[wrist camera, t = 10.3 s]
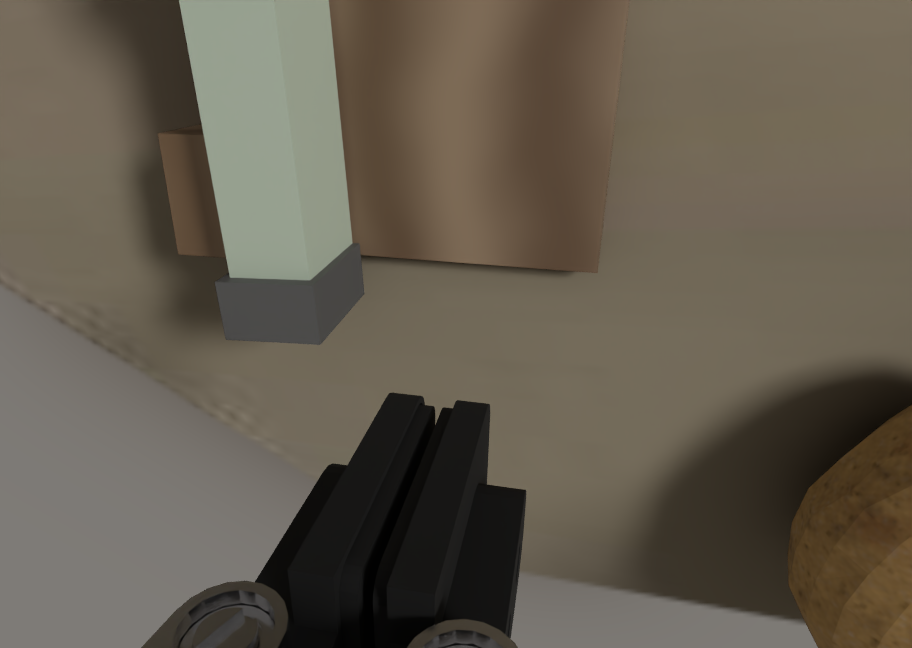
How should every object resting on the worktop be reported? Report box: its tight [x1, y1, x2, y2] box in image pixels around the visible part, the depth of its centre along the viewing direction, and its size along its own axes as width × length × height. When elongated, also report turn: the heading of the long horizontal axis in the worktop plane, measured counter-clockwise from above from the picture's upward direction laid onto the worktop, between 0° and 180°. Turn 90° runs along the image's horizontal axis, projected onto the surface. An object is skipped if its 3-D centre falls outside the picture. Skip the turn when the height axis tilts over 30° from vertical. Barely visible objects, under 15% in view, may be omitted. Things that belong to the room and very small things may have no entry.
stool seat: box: [158, 0, 629, 273], centre depth 20 cm, size 16×17×8 cm
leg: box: [179, 0, 364, 345], centre depth 21 cm, size 16×4×5 cm, turn 1°
